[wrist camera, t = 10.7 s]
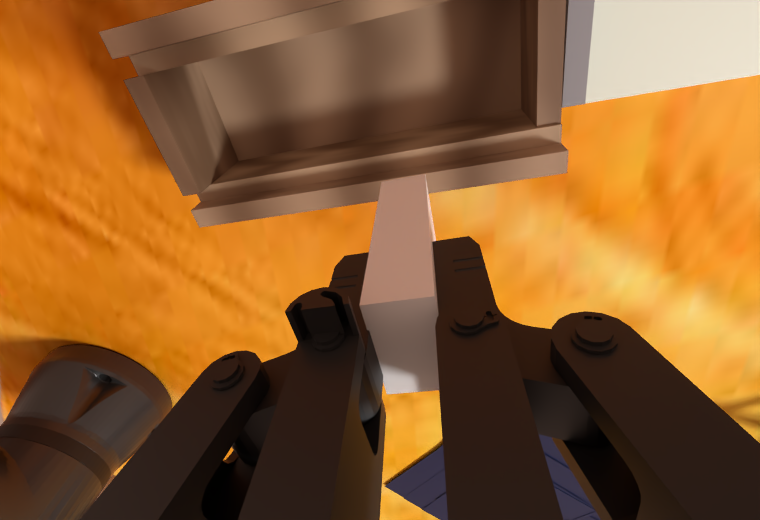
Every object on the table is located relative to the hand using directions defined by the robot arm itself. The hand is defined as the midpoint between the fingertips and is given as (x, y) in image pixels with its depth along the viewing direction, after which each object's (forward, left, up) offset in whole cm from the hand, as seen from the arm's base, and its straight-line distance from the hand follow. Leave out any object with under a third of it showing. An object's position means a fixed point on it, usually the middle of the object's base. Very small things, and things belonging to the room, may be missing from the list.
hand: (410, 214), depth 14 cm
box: (-3, +3, -15) cm, 15 cm away
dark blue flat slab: (+7, -49, -15) cm, 51 cm away
